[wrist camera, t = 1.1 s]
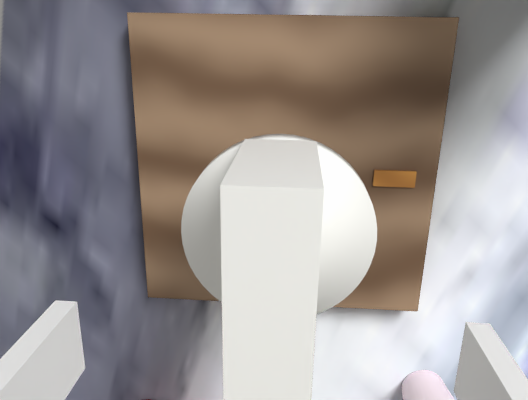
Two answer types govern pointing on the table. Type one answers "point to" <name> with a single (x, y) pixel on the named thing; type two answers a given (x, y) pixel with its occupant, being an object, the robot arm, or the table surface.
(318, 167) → the cap
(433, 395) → the smoothie
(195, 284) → the post board
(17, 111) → the table surface
